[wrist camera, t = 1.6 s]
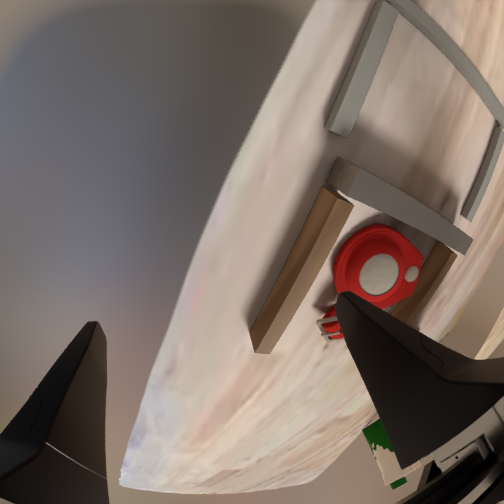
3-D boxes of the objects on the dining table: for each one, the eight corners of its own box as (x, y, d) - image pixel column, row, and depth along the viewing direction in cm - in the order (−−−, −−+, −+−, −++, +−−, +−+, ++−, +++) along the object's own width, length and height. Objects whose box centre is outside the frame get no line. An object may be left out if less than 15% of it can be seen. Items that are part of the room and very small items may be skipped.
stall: (443, 243, 26) (457, 255, 24) (377, 341, 32) (386, 355, 30) (322, 186, 20) (337, 198, 17) (249, 333, 26) (254, 352, 24)
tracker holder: (342, 222, 20) (441, 236, 21) (328, 213, 25) (417, 226, 25) (315, 353, 24) (406, 351, 24) (308, 328, 28) (390, 329, 28)
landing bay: (503, 118, 19) (509, 120, 18) (465, 218, 25) (471, 222, 24) (382, -15, 11) (390, -17, 10) (324, 127, 17) (330, 129, 16)
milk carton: (357, 432, 55) (384, 493, 38) (385, 413, 52) (417, 476, 35) (372, 430, 59) (398, 486, 42) (398, 413, 56) (428, 469, 39)
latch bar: (455, 226, 24) (473, 239, 22) (447, 241, 25) (464, 255, 23) (337, 156, 18) (359, 167, 16) (326, 181, 19) (346, 195, 17)
